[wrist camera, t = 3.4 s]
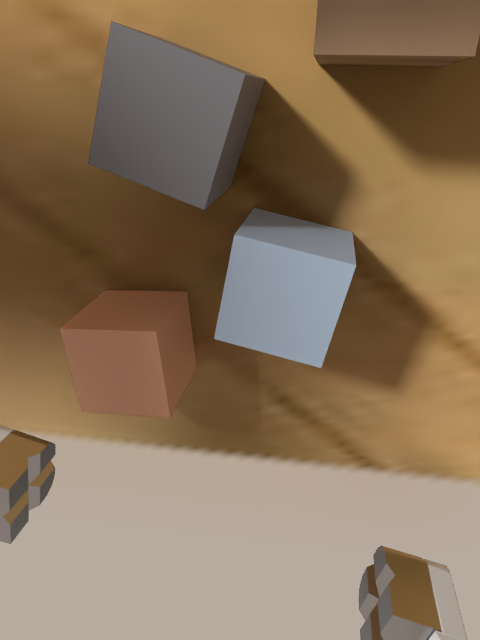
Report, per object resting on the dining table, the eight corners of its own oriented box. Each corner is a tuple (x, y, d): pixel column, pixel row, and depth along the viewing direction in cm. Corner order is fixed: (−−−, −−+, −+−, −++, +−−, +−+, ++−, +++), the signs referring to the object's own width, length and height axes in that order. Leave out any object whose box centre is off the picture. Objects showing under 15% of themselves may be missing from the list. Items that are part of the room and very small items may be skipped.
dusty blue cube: (254, 207, 22) (234, 234, 18) (352, 231, 22) (356, 265, 18) (235, 295, 25) (213, 338, 20) (323, 319, 24) (321, 368, 20)
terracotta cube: (105, 289, 26) (59, 328, 22) (187, 290, 25) (156, 331, 21) (121, 362, 28) (81, 411, 24) (196, 366, 27) (170, 418, 23)
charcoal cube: (161, 38, 20) (111, 21, 15) (265, 79, 20) (245, 74, 15) (137, 150, 22) (88, 163, 18) (230, 187, 22) (204, 209, 18)
